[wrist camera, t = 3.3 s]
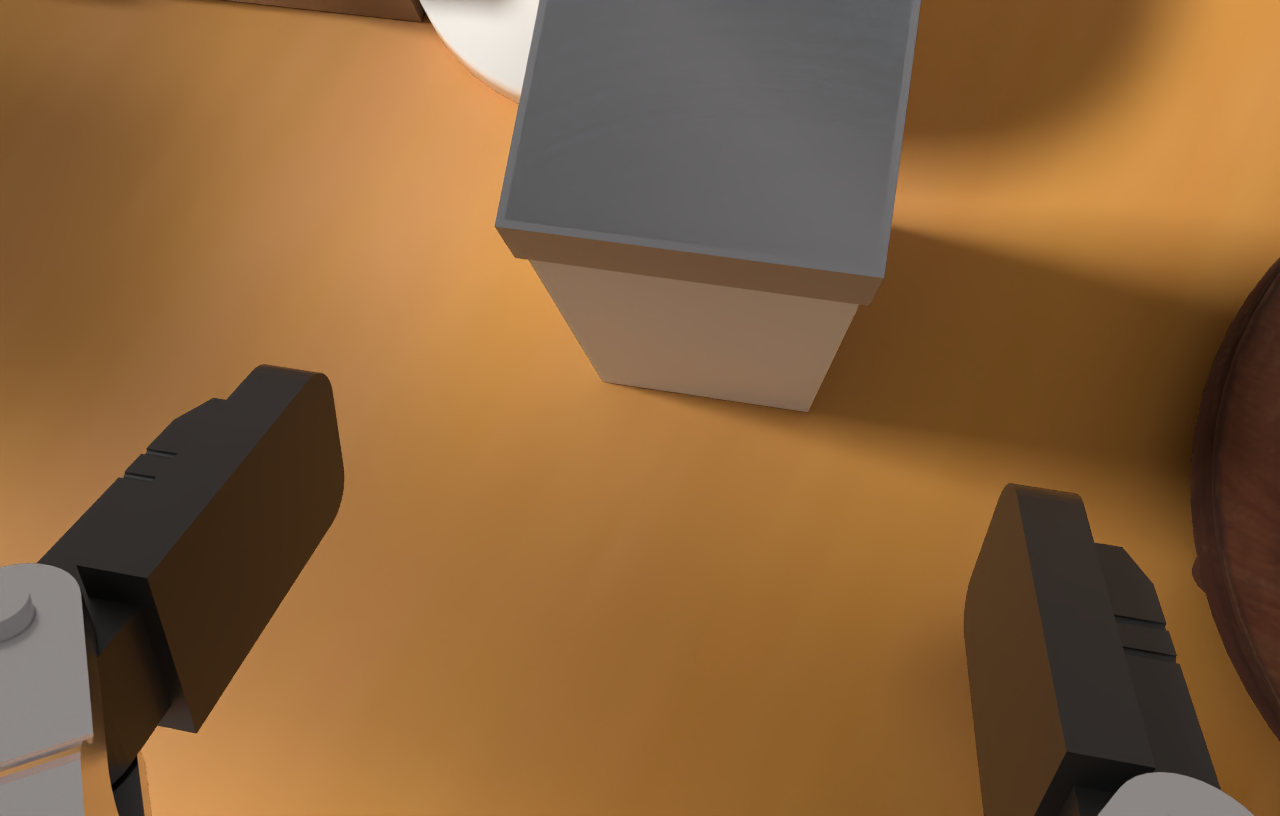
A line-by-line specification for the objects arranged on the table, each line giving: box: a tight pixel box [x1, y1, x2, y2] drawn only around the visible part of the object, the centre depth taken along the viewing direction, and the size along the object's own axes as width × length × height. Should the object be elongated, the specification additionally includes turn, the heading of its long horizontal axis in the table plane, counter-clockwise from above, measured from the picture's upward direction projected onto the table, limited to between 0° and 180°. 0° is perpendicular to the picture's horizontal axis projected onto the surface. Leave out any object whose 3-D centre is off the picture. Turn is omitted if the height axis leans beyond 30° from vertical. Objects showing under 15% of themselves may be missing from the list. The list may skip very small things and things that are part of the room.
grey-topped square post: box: [495, 0, 921, 412], centre depth 17 cm, size 5×5×10 cm
